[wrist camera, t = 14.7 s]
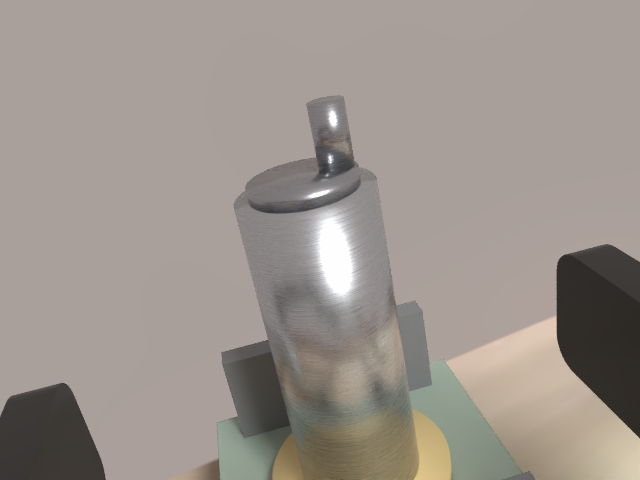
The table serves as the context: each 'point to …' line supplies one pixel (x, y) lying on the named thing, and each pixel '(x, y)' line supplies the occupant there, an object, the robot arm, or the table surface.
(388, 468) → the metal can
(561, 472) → the table surface
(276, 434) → the green and yellow block
